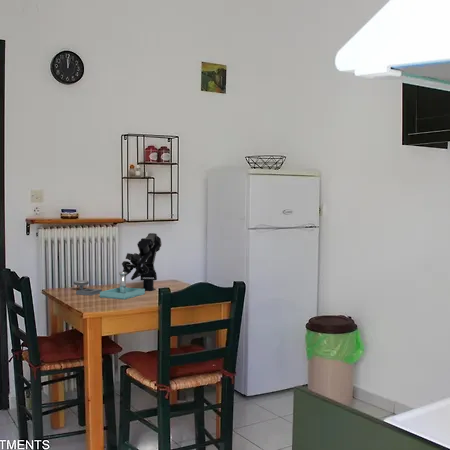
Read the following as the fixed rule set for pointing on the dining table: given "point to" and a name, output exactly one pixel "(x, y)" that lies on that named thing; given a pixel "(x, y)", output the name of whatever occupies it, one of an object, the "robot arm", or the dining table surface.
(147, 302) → the dining table surface
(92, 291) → the pin collar
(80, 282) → the silver round knob
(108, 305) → the dining table surface
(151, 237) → the robot arm
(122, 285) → the pin
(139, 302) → the dining table surface
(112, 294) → the tray
